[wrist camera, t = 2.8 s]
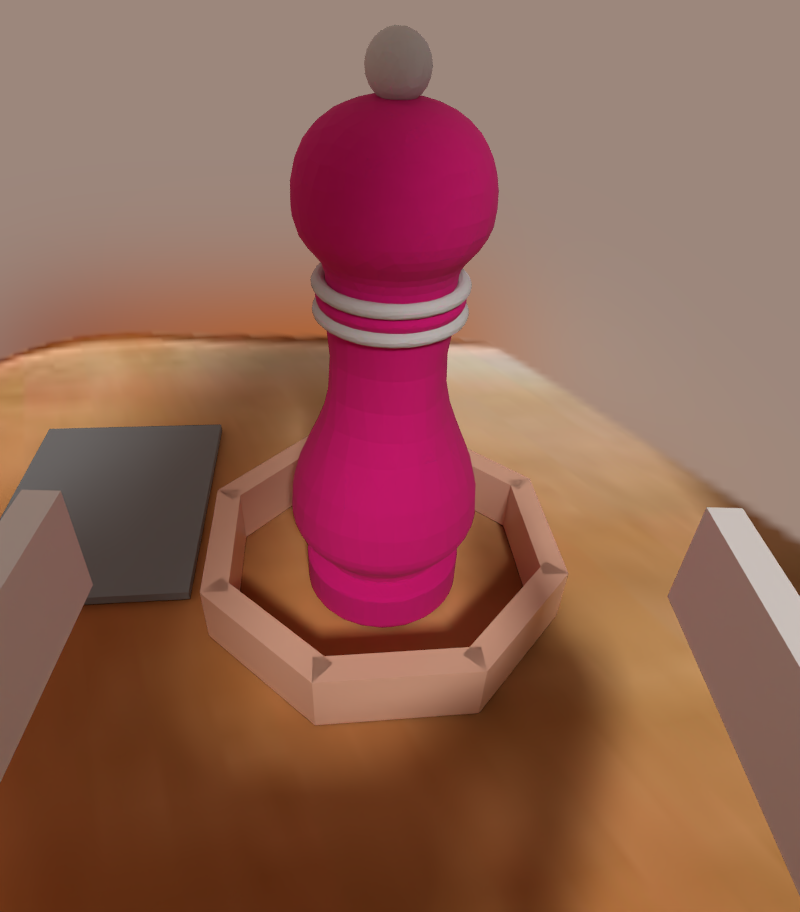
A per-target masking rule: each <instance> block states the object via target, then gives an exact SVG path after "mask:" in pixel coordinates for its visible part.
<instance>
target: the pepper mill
mask: <svg viewBox="0 0 800 912" xmlns="http://www.w3.org/2000/svg"><path fill="white" fill-rule="evenodd" d="M364 65H365V74H366V77H367V80H368V83H369V85H370V87H371V88H372V90H373V91H374V92H375V93H373V94H368V95H363V96H359V97H356V98H353V99H350V100H348V101H345V102H343V103H340V104H339V105H336V106H334V107H333V108H331V109H330V110H329V111H327V112H326V113H325V114H323V115H322V116H321V117H319V118H318V119H317V120H316V121H315V122H314V123H313V125H312V126H311V127H310V129H309V130H308V131H307V133H306V134H305V135H304V136H303V138H302V140H301V143H300V145H299V147H298V150H297V152H296V155H295V157H294V162H293V168H292V173H291V178H290V200H291V201H290V202H291V212H292V217H293V220H294V223H295V226H296V228H297V232H298V235H299V237H300V238H301V239H302V241H303V242H304V244H305V245H306V246H307V248H308V249H309V250H310V251H311V252H312V253H313V254H314V255H315V256H316V257H317V258H318V259H319V261H320V262H321V263H320V264H319V265H317V266H316V268H315V270H314V271H313V273H312V276H311V286H312V288H313V290H314V292H315V299H314V300H313V305H312V312H313V315H314V317H315V320H316V321H317V322H318V324H320V325H321V326H322V327H323V328H324V329H325V330H327V336H328V344H329V353H330V363H329V383H328V391H327V395H326V399H325V403H324V405H323V408H322V410H321V412H320V415H319V417H318V419H317V421H316V423H315V424H314V426H313V428H312V430H311V432H310V434H309V436H308V438H307V440H306V442H305V444H304V446H303V448H302V450H301V452H300V456H299V459H298V463H297V466H296V470H295V473H294V479H293V496H292V506H293V514H294V518H295V522H296V525H297V527H298V529H299V531H300V533H301V535H302V536H303V538H304V539H305V540H306V542H307V543H308V557H309V573H310V580H311V584H312V587H313V590H314V592H315V593H316V595H317V597H318V598H319V599H320V600H321V601H322V603H323V604H324V605H325V606H326V607H327V608H328V609H329V610H331V611H332V612H334V613H335V614H337V615H338V616H340V617H341V618H343V619H345V620H348V621H351V622H354V623H357V624H360V625H365V626H374V627H382V628H383V627H393V626H400V625H406V624H409V623H411V622H414V621H416V620H419V619H421V618H423V617H425V616H427V615H428V614H430V613H431V612H433V611H434V610H435V609H436V608H437V607H439V606H440V604H441V603H442V602H443V601H444V600H445V598H446V597H447V595H448V594H449V591H450V589H451V587H452V583H453V578H454V570H455V563H456V555H457V547H458V546H459V545H460V544H461V542H462V541H463V540H464V539H465V537H466V535H467V533H468V531H469V529H470V528H471V525H472V521H473V518H474V514H475V489H476V483H475V478H474V472H473V468H472V463H471V458H470V454H469V452H468V449H467V447H466V444H465V441H464V439H463V436H462V434H461V431H460V429H459V426H458V424H457V421H456V418H455V415H454V412H453V409H452V407H451V404H450V401H449V394H448V388H447V382H446V377H447V353H448V349H449V344H450V340H451V336H452V335H453V334H455V333H457V332H458V331H459V330H460V329H461V328H462V327H463V326H464V325H465V323H466V321H467V318H468V311H469V310H468V306H467V303H466V299H467V297H468V296H469V294H470V292H471V286H472V284H471V280H470V277H469V275H468V274H467V272H466V271H465V270H464V269H463V267H464V266H465V265H466V264H467V263H468V262H469V261H470V260H471V259H472V258H473V257H474V256H475V255H476V254H477V253H478V252H479V251H480V249H481V248H482V247H483V245H484V244H485V242H486V241H487V240H488V238H489V236H490V233H491V232H492V230H493V227H494V223H495V218H496V213H497V206H498V193H499V190H498V177H497V171H496V167H495V162H494V158H493V155H492V153H491V150H490V148H489V146H488V144H487V142H486V140H485V138H484V136H483V135H482V133H481V132H480V131H479V130H478V128H477V127H476V126H475V125H474V124H473V123H472V121H471V120H469V119H468V118H467V117H466V116H464V115H463V114H462V113H461V112H459V111H458V110H456V109H454V108H452V107H450V106H448V105H447V104H444V103H443V102H441V101H437V100H434V99H431V98H428V97H425V96H420V95H421V94H422V93H423V92H424V90H425V89H426V87H427V86H428V83H429V81H430V78H431V74H432V68H433V64H432V55H431V52H430V49H429V46H428V44H427V42H426V41H425V39H424V38H423V37H422V36H421V35H420V34H419V33H418V32H417V31H415V30H413V29H411V28H410V27H408V26H399V25H398V26H397V25H394V26H389V27H387V28H385V29H383V30H381V31H380V32H379V33H378V34H377V35H376V36H375V37H374V38H373V39H372V41H371V42H370V44H369V46H368V48H367V51H366V56H365V62H364Z"/></svg>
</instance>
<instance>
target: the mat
mask: <svg viewBox="0 0 800 912" xmlns="http://www.w3.org/2000/svg"><path fill="white" fill-rule="evenodd" d="M221 433H222V427H221V425H185V426H146V427H108V428H69V429H49V431H48V433H47V435H46V436H45V438H44V440H43V442H42V444H41V446H40V447H39V449H38V451H37V453H36V455H35V456H34V458H33V460H32V462H31V464H30V466H29V467H28V469H27V471H26V473H25V475H24V476H23V478H22V480H21V482H20V484H19V486H18V487H17V489H16V491H15V493H14V495H13V497H12V498H11V500H10V502H9V504H8V506H7V507H6V509H5V511H4V513H3V515H2V517H3V516H4V514H5V513H6V511H7V510H8V508H9V507H10V506H11V504H12V503H13V501H14V500H15V498H16V497H17V495H18V494H19V492H20V491H21V490H54V491H61V493H62V496H63V499H64V502H65V504H66V507H67V510H68V513H69V516H70V519H71V522H72V525H73V528H74V531H75V534H76V537H77V540H78V542H79V545H80V548H81V551H82V554H83V557H84V560H85V563H86V566H87V569H88V572H89V575H90V577H91V580H92V583H93V586H92V588H91V590H90V592H89V594H88V597H87V599H86V601H85V603H84V604H103V603H121V602H140V601H159V600H178V599H190V596H191V591H192V585H193V580H194V575H195V570H196V564H197V559H198V554H199V549H200V543H201V538H202V533H203V527H204V522H205V517H206V512H207V506H208V501H209V496H210V491H211V485H212V480H213V475H214V470H215V464H216V459H217V454H218V449H219V443H220V438H221ZM2 517H1V518H0V520H1V519H2Z"/></svg>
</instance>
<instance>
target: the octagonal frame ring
mask: <svg viewBox="0 0 800 912" xmlns="http://www.w3.org/2000/svg"><path fill="white" fill-rule="evenodd" d="M308 436H309V435H308ZM308 436H307V437H305V438H303V439H302V440H300V441H298V442H297V443H295V444H293V445H292V446H290V447H288V448H287V449H285V450H283V451H282V452H280V453H279V454H277V455H275V456H274V457H272V458H270V459H269V460H267V461H265V462H264V463H262V464H260V465H259V466H257V467H255V468H254V469H252V470H250V471H249V472H247V473H245V474H244V475H242V476H240V477H239V478H237V479H235V480H234V481H232V482H230V483H229V484H227V485H225V486H224V487H222V488H220V489H219V490H218V492H217V498H216V503H215V509H214V515H213V520H212V526H211V532H210V537H209V543H208V549H207V554H206V560H205V566H204V571H203V577H202V583H201V588H200V597H201V601H202V606H203V611H204V615H205V620H206V624H207V629H208V634H209V636H210V637H211V638H213V639H214V640H215V641H216V642H217V643H218V644H220V645H221V646H222V647H223V648H224V649H226V650H227V651H228V652H229V653H230V654H231V655H233V656H234V657H235V658H236V659H237V660H239V661H240V662H241V663H242V664H243V665H244V666H246V667H247V668H248V669H249V670H250V671H251V672H253V673H254V674H255V675H256V676H257V677H259V678H260V679H261V680H262V681H263V682H264V683H266V684H267V685H268V686H269V687H270V688H272V689H273V690H274V691H275V692H276V693H277V694H279V695H280V696H281V697H282V698H283V699H285V700H286V701H287V702H288V703H289V704H290V705H292V706H293V707H294V708H295V709H296V710H298V711H299V712H300V713H301V714H302V715H303V716H305V717H306V718H307V719H308V720H309V721H310V722H312V723H313V724H314V725H325V724H338V723H351V722H365V721H378V720H392V719H405V718H419V717H432V716H445V715H459V714H472V713H479V712H480V711H481V710H482V709H483V707H484V706H485V705H486V703H487V702H488V701H489V700H490V698H491V697H492V696H493V695H494V693H495V692H496V691H497V690H498V688H499V687H500V686H501V685H502V683H503V682H504V681H505V679H506V678H507V677H508V676H509V674H510V673H511V672H512V671H513V669H514V668H515V667H516V666H517V664H518V663H519V662H520V661H521V659H522V658H523V657H524V656H525V654H526V653H527V652H528V650H529V649H530V648H531V647H532V645H533V644H534V643H535V642H536V640H537V639H538V638H539V637H540V635H541V634H542V633H543V632H544V630H545V629H546V628H547V626H548V625H549V624H550V623H551V621H552V620H553V619H554V618H555V616H556V615H557V612H558V609H559V605H560V602H561V598H562V595H563V591H564V587H565V584H566V580H567V577H568V571H567V569H566V566H565V564H564V561H563V559H562V556H561V554H560V551H559V549H558V547H557V544H556V542H555V539H554V537H553V534H552V532H551V529H550V527H549V525H548V522H547V520H546V517H545V515H544V512H543V510H542V507H541V505H540V502H539V500H538V498H537V495H536V493H535V490H534V488H533V485H532V483H531V480H530V479H529V478H527V477H525V476H523V475H521V474H519V473H517V472H515V471H513V470H511V469H509V468H507V467H505V466H503V465H501V464H499V463H497V462H494V461H492V460H490V459H488V458H486V457H484V456H482V455H480V454H478V453H476V452H474V451H472V450H470V449H468V448H467V449H468V452H469V454H470V458H471V463H472V468H473V472H474V478H475V483H476V489H475V511H477V512H479V513H481V514H483V515H485V516H486V517H488V518H490V519H492V520H494V521H496V522H498V523H499V524H501V525H503V526H504V529H505V532H506V535H507V539H508V542H509V545H510V548H511V551H512V554H513V557H514V560H515V563H516V566H517V569H518V572H519V575H520V578H521V581H522V584H523V587H522V588H521V590H520V591H519V592H518V593H517V594H516V595H515V596H514V597H513V599H512V600H511V601H510V602H509V603H508V604H507V605H506V607H505V608H504V609H503V610H502V611H501V612H500V613H499V614H498V616H497V617H496V618H495V619H494V620H493V621H492V622H491V623H490V625H489V626H488V627H487V628H486V629H485V630H484V631H483V633H482V634H481V635H480V636H479V637H478V638H477V639H476V640H475V642H474V643H473V644H472V645H471V646H470V647H463V648H447V649H432V650H416V651H400V652H384V653H369V654H353V655H337V656H323V655H322V654H321V653H319V652H318V651H317V650H315V649H314V648H313V647H312V646H310V645H309V644H308V643H306V642H305V641H304V640H302V639H301V638H300V637H299V636H297V635H296V634H295V633H293V632H292V631H291V630H289V629H288V628H287V627H286V626H284V625H283V624H282V623H280V622H279V621H278V620H276V619H275V618H274V617H273V616H271V615H270V614H269V613H267V612H266V611H265V610H263V609H262V608H261V607H260V606H258V605H257V604H256V603H254V602H253V601H252V600H250V599H249V598H248V597H247V596H245V595H244V594H243V593H241V592H240V587H241V579H242V570H243V561H244V553H245V544H246V537H247V536H248V535H250V534H251V533H253V532H254V531H256V530H257V529H259V528H260V527H261V526H263V525H264V524H266V523H267V522H269V521H270V520H272V519H273V518H275V517H276V516H278V515H279V514H281V513H282V512H284V511H285V510H286V509H288V508H289V507H291V506H292V496H293V479H294V473H295V470H296V466H297V463H298V459H299V456H300V452H301V450H302V448H303V446H304V444H305V442H306V440H307V438H308Z"/></svg>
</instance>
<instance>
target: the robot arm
mask: <svg viewBox="0 0 800 912" xmlns="http://www.w3.org/2000/svg"><path fill="white" fill-rule="evenodd" d="M92 586H93V583H92V580H91V577H90V575H89V572H88V569H87V566H86V563H85V560H84V557H83V554H82V551H81V548H80V545H79V542H78V540H77V537H76V534H75V531H74V528H73V525H72V522H71V519H70V516H69V513H68V510H67V507H66V504H65V502H64V499H63V496H62V493H61V491H54V490H21V491H20V492H19V494H18V495H17V497H16V498H15V500H14V501H13V503H12V504H11V506H10V507H9V508H8V510H7V511H6V513H5V514H4V516H3V517H2V519H1V520H0V782H1V780H2V778H3V776H4V774H5V772H6V770H7V767H8V765H9V763H10V761H11V759H12V757H13V755H14V752H15V750H16V748H17V746H18V744H19V742H20V740H21V737H22V735H23V733H24V731H25V729H26V727H27V725H28V723H29V720H30V718H31V716H32V714H33V712H34V710H35V708H36V705H37V703H38V701H39V699H40V697H41V695H42V693H43V691H44V688H45V686H46V684H47V682H48V680H49V678H50V676H51V673H52V671H53V669H54V667H55V665H56V663H57V661H58V658H59V656H60V654H61V652H62V650H63V648H64V646H65V644H66V641H67V639H68V637H69V635H70V633H71V631H72V629H73V626H74V624H75V622H76V620H77V618H78V616H79V614H80V612H81V609H82V607H83V605H84V603H85V601H86V599H87V597H88V594H89V592H90V590H91V588H92ZM668 598H669V601H670V603H671V605H672V607H673V610H674V612H675V614H676V616H677V619H678V621H679V623H680V626H681V628H682V630H683V632H684V635H685V637H686V639H687V641H688V644H689V646H690V648H691V650H692V653H693V655H694V657H695V660H696V662H697V664H698V666H699V669H700V671H701V673H702V675H703V678H704V680H705V682H706V685H707V687H708V689H709V691H710V694H711V696H712V698H713V700H714V703H715V705H716V707H717V709H718V712H719V714H720V716H721V719H722V721H723V723H724V725H725V728H726V730H727V732H728V734H729V737H730V739H731V741H732V743H733V746H734V748H735V750H736V753H737V755H738V757H739V759H740V762H741V764H742V766H743V768H744V771H745V773H746V775H747V777H748V780H749V782H750V784H751V787H752V789H753V791H754V793H755V796H756V798H757V800H758V802H759V805H760V807H761V809H762V811H763V814H764V816H765V818H766V821H767V823H768V825H769V827H770V830H771V832H772V834H773V836H774V839H775V841H776V843H777V845H778V848H779V850H780V852H781V855H782V857H783V859H784V861H785V864H786V866H787V868H788V870H789V873H790V875H791V877H792V879H793V882H794V884H795V886H796V889H797V891H798V893H799V895H800V596H799V594H798V593H797V591H796V590H795V588H794V587H793V585H792V584H791V582H790V581H789V579H788V578H787V576H786V574H785V573H784V571H783V570H782V568H781V567H780V565H779V564H778V562H777V561H776V559H775V557H774V556H773V554H772V553H771V551H770V550H769V548H768V547H767V545H766V544H765V542H764V541H763V539H762V537H761V536H760V534H759V533H758V531H757V530H756V528H755V527H754V525H753V524H752V522H751V520H750V519H749V517H748V516H747V514H746V513H745V511H744V510H743V508H711V507H707V508H706V510H705V512H704V514H703V517H702V519H701V521H700V524H699V526H698V528H697V530H696V533H695V535H694V537H693V539H692V542H691V544H690V546H689V549H688V551H687V553H686V555H685V558H684V560H683V562H682V565H681V567H680V569H679V571H678V574H677V576H676V578H675V580H674V583H673V585H672V587H671V590H670V592H669V594H668Z"/></svg>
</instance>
